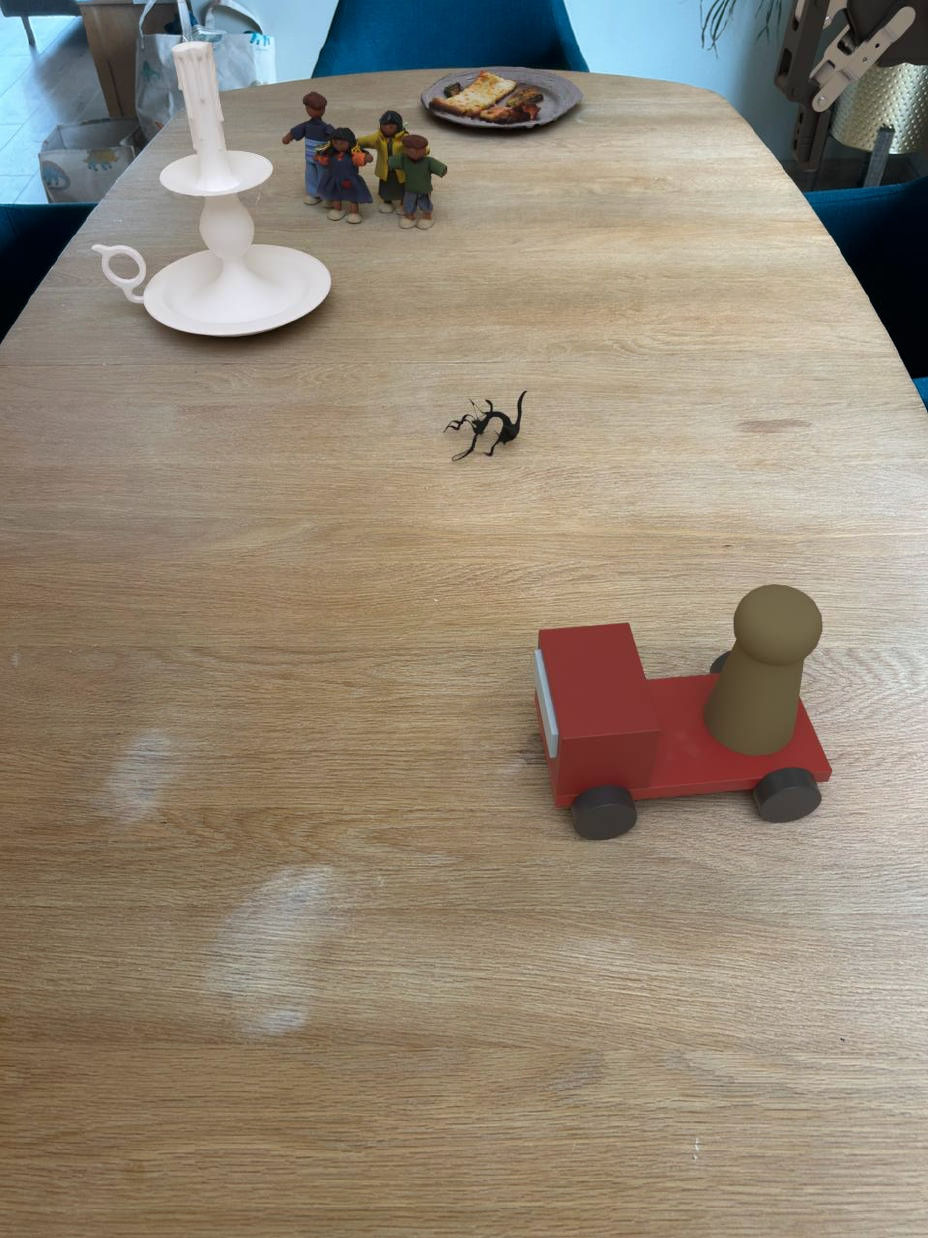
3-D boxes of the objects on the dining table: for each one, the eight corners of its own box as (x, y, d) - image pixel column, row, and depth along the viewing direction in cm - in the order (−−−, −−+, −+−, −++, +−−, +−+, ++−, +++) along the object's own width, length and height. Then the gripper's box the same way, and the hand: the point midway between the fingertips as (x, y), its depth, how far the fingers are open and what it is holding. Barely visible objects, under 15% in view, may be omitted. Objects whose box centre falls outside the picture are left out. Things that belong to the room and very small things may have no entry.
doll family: (272, 219, 130) (255, 110, 120) (292, 190, 136) (278, 84, 126) (446, 231, 127) (444, 120, 117) (459, 201, 133) (458, 93, 123)
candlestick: (126, 276, 119) (54, 10, 99) (333, 264, 121) (304, 0, 101) (98, 369, 105) (7, 80, 85) (334, 354, 106) (299, 67, 86)
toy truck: (771, 680, 74) (799, 591, 67) (828, 818, 66) (867, 732, 59) (524, 702, 73) (529, 613, 66) (551, 845, 64) (559, 760, 58)
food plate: (523, 151, 145) (524, 125, 142) (393, 120, 154) (391, 96, 151) (603, 99, 159) (605, 75, 157) (480, 73, 168) (480, 50, 166)
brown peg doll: (789, 765, 65) (832, 650, 57) (696, 742, 66) (725, 627, 58) (798, 697, 69) (839, 581, 61) (710, 676, 70) (739, 560, 62)
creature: (433, 469, 94) (512, 470, 91) (419, 419, 91) (500, 420, 87) (462, 423, 99) (538, 423, 96) (450, 375, 96) (528, 373, 92)
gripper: (850, -128, 51) (781, 193, 62) (1119, -138, 51) (1001, 181, 63) (801, -154, 56) (745, 147, 67) (1045, -162, 57) (949, 136, 68)
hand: (869, 163), depth 65 cm, fingers open, 8 cm apart
